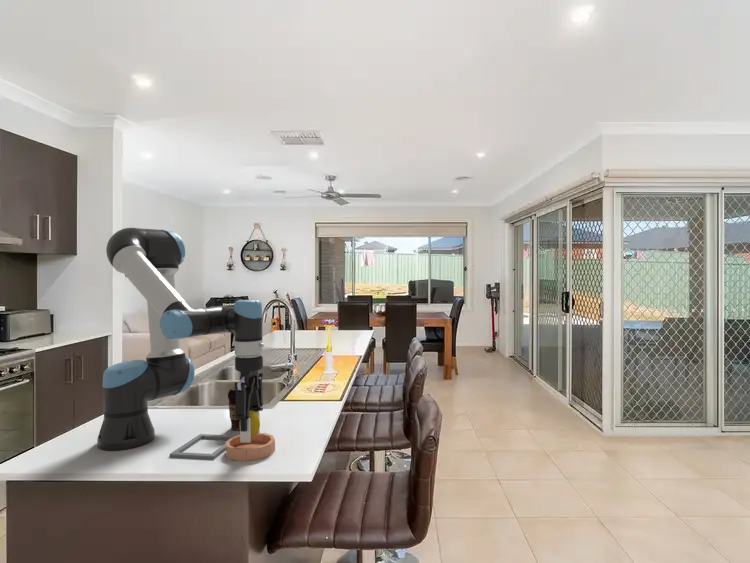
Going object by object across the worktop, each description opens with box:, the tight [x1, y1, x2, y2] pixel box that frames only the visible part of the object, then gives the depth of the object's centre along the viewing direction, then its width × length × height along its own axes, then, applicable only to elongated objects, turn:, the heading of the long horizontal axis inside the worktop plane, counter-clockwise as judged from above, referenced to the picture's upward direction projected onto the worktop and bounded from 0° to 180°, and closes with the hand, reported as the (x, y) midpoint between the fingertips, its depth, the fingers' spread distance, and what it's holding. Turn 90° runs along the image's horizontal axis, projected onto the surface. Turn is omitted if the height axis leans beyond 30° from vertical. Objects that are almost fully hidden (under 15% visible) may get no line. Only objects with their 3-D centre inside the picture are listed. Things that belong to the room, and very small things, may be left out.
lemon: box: [239, 410, 261, 438], centre depth 130 cm, size 6×6×8 cm
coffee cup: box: [227, 386, 253, 431], centre depth 151 cm, size 9×8×13 cm
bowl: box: [225, 432, 276, 462], centre depth 130 cm, size 13×13×3 cm
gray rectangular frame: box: [169, 433, 236, 460], centre depth 134 cm, size 13×16×1 cm
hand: (250, 437), depth 130 cm, fingers closed on lemon, 5 cm apart
